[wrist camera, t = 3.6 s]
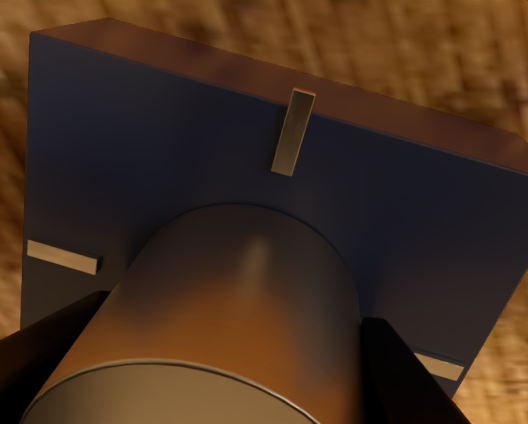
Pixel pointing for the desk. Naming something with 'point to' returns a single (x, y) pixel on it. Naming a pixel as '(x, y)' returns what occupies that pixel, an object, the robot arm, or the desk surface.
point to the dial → (218, 331)
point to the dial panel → (267, 179)
